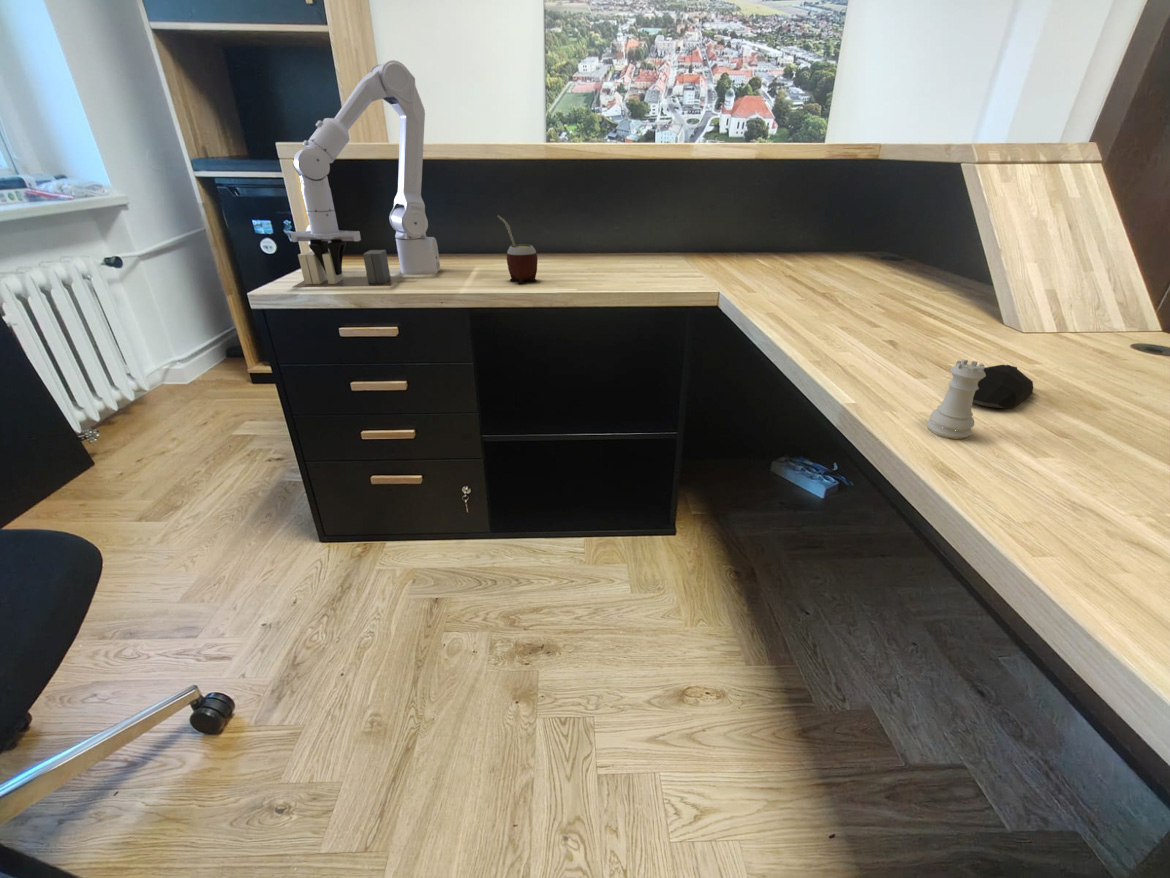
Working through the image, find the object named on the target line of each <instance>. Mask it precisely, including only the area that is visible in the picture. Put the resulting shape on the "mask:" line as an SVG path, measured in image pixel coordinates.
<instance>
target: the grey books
mask: <svg viewBox="0 0 1170 878" xmlns="http://www.w3.org/2000/svg"><path fill="white" fill-rule="evenodd" d="M362 257H363V263H364V268H365V273H366V277H367V278H368V283H385V282H387V281H388V280H389V279H390V276H391V273H390V267H389V260H388V255H387V250H386V249H370V250H368V251H366V252H364V253H363V254H362Z"/></svg>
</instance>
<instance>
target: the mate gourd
mask: <svg viewBox="0 0 1170 878" xmlns="http://www.w3.org/2000/svg"><path fill="white" fill-rule="evenodd" d="M496 217H497V218H498V219H499V220H500V221H502V223H503V224H504V225H505V228H506V230H507V232H508V235H509V238H510V241H511V245H510V246H509V247H508V249H507V251H506V264H507V269H508V272H509V275H510V279H509V281H510V282H513V283H514V282H515V283H518V285H523V284H525V283H536V282H537V279H536V277H537V272H538V254H537V251H536V248H535V247H534V246H533V245H532V244H526V243H525V244H524V243H522V244H521V243H520V244H516V243H515V240H514V237H513V233H512V231H511V226H510V224H509V223H508V222H507V221H506V219H504V218H502V217H501V216H500V215H496Z"/></svg>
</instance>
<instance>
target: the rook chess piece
mask: <svg viewBox="0 0 1170 878" xmlns="http://www.w3.org/2000/svg"><path fill="white" fill-rule="evenodd" d="M984 368H985V364H984V363H981V362H980V363H979V364H978V361H975V360H972V361H971V364H969V360H968V359H962V360H957V361H956V363H955V365H954V366H953V367H951V368H950V372H951V373H950V374H951V375H952V378H951V380H950V381H949V382H948V389H947V391H946V394H945V396H944V398H943V400H942V402H941V403H940V405H938V406H937V407H936V409H934V410H933V411H931V413H930V414H929V420H927V421H926V425H927V428H928V429H929V431H930V432H931V433H933V434H934V435H937V436H939V437H943V438H946V439H951V440H961V439H965V438H967V437H969V436H971V435H972V434H973V429H972V428H973V427H974V426H975V419H974V417H973V416H974V414H973V412H972V407H973V403H972V402H973V397H974V394H975V391H976V390H978V389H979V388H978V382H979V381H980V380H981V379H982V378H984V377H985V376H986V374H985V372H984ZM932 421H933V422H934V423H935V424H934V423H933V422H932ZM942 427H943V428H942ZM955 430H956V431H955Z"/></svg>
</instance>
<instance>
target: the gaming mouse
mask: <svg viewBox="0 0 1170 878" xmlns="http://www.w3.org/2000/svg"><path fill="white" fill-rule="evenodd" d="M984 367H985V366H984ZM984 372H985V374H986V376H985V377H984V378H982V379H981V380H980V381H979V382H978V388H979V389H978V390H976V391H975V394H974V397H973V402H972V404H975V405H979V406H982V407H988V408H996V409H1010V408H1011V409H1013V408H1014V407H1016V406H1019V405H1020V404H1021V403H1022V402H1023V401H1024V400H1026V399H1028V398H1029V397H1030V396H1031V395H1032V394H1033V391H1034V382H1033V380H1032V379H1030V378H1029V377H1028V376H1027V375H1025V374H1024V373H1023V372H1022V371H1021V370H1019V369H1018V367H1017V366H1014V365H1010V364H998V365H991V366H986V367H985V368H984Z"/></svg>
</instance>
